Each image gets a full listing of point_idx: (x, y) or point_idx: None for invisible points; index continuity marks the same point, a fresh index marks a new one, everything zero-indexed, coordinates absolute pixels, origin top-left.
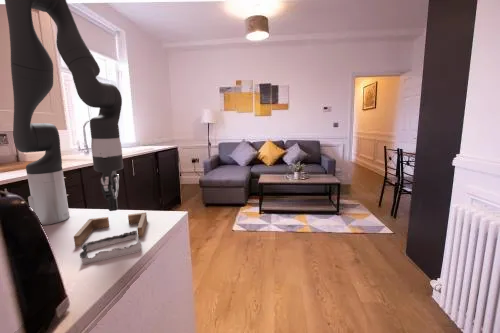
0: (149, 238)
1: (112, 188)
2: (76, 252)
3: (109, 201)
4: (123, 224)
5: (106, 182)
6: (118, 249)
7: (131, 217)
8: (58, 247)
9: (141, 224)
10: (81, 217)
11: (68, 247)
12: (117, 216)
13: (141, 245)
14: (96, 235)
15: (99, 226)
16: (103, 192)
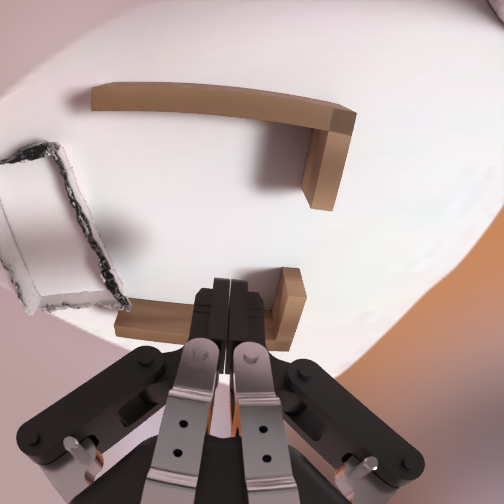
0: (111, 322)
1: (101, 453)
2: (61, 107)
3: (189, 337)
4: (297, 246)
5: (60, 489)
6: (7, 264)
7: (283, 299)
8: (141, 11)
9: (144, 337)
10: (500, 76)
11: (120, 54)
12: (422, 218)
13: (42, 310)
14: (211, 144)
15: (311, 151)
16: (62, 403)
